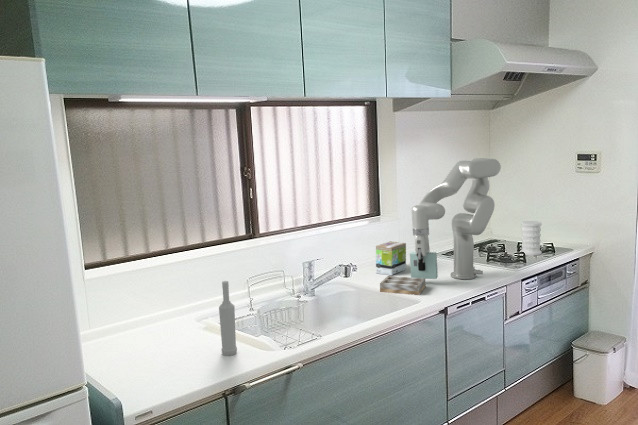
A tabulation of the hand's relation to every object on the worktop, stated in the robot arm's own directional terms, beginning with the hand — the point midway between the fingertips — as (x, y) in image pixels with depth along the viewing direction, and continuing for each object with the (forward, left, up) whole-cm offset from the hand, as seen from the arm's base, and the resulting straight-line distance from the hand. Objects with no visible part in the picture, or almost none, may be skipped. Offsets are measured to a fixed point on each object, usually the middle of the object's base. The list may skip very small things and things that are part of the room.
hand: (422, 268), depth 262 cm
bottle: (+44, +102, -8) cm, 111 cm away
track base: (+7, +11, -7) cm, 15 cm away
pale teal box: (-1, 0, -4) cm, 4 cm away
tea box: (+21, -19, -8) cm, 29 cm away
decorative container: (-45, -81, -8) cm, 93 cm away
